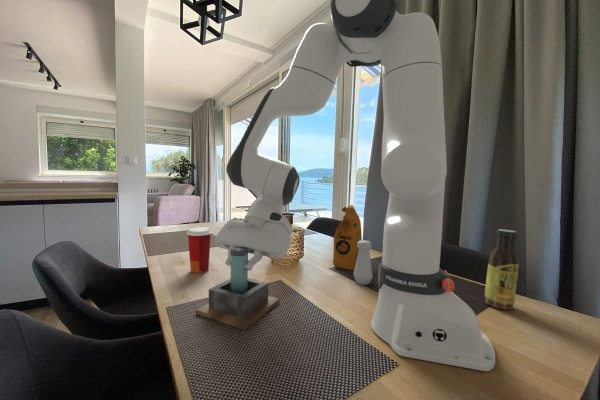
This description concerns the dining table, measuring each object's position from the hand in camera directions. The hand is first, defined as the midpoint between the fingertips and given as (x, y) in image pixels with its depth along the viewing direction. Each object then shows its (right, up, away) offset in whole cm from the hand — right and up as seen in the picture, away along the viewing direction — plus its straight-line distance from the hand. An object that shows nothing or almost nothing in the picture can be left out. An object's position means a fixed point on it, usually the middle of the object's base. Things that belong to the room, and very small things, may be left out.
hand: (237, 267), depth 63 cm
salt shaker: (+34, -10, +19) cm, 41 cm away
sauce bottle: (+67, -12, +6) cm, 68 cm away
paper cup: (-19, -8, +26) cm, 33 cm away
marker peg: (0, -7, +1) cm, 7 cm away
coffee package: (+32, -8, +36) cm, 49 cm away
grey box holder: (0, -10, +1) cm, 10 cm away
